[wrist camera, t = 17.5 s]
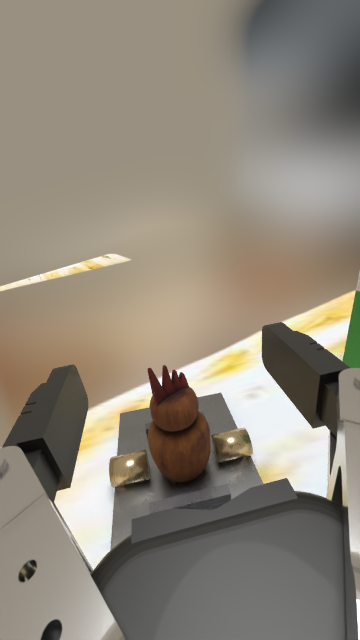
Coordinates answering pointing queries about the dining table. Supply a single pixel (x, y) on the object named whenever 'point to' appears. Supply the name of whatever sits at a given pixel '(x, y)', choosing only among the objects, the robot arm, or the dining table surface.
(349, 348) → the hardback book
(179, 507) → the metal mounting plate
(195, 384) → the dining table surface
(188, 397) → the wooden figurine
